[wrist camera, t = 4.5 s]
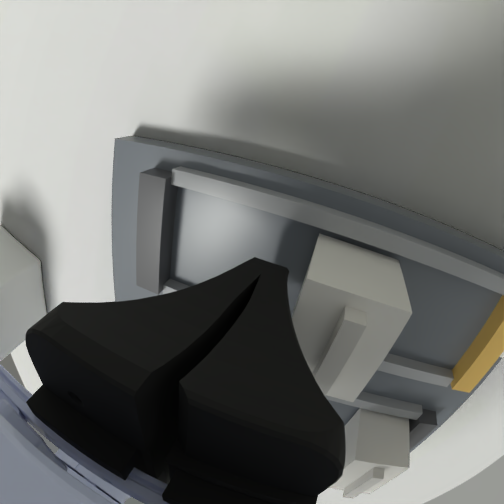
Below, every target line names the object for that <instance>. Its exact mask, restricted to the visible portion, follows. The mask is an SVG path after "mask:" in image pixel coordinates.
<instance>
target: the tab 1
mask: <svg viewBox="0 0 504 504" xmlns="http://www.w3.org/2000/svg"><path fill="white" fill-rule="evenodd" d="M411 315H412V309H411V305H410V301H409V297H408V293H407V289H406V285H405V281H404V277H403V274H402V270H401V267H400V263H399V260H396V259H394V258H391V257H388V256H385V255H382V254H379V253H376V252H374V251H371V250H368V249H365V248H362V247H359V246H356V245H353V244H350V243H347V242H344V241H341V240H338V239H335V238H332V237H329V236H326V235H323V234H320V233H319V236H318V239H317V242H316V246H315V249H314V252H313V255H312V258H311V261H310V264H309V267H308V270H307V273H306V276H305V279H304V282H303V285H302V287H301V290H300V293H299V296H298V299H297V302H296V305H295V307H294V310H293V313H292V316H291V317H292V321H293V326H294V329H295V333H296V336H297V339H298V342H299V345H300V347H301V350H302V353H303V355H304V358H305V360H306V362H307V364H308V366H309V368H310V370H311V372H312V374H313V376H314V378H315V380H316V382H317V384H318V385H319V387H320V389H321V391H322V392H323V394H324V396H326V395H327V396H331V397H334V398H338V399H342V400H345V401H349V402H354V401H355V399H356V398H357V397H358V395H359V394H360V393H361V391H362V390H363V389H364V387H365V386H366V385H367V383H368V382H369V380H370V379H371V378H372V376H373V375H374V373H375V372H376V370H377V369H378V367H379V366H380V364H381V363H382V362H383V360H384V359H385V357H386V355H387V354H388V352H389V351H390V349H391V348H392V346H393V345H394V343H395V341H396V340H397V338H398V337H399V335H400V333H401V332H402V330H403V328H404V327H405V325H406V323H407V322H408V320H409V318H410V316H411Z"/></svg>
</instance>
